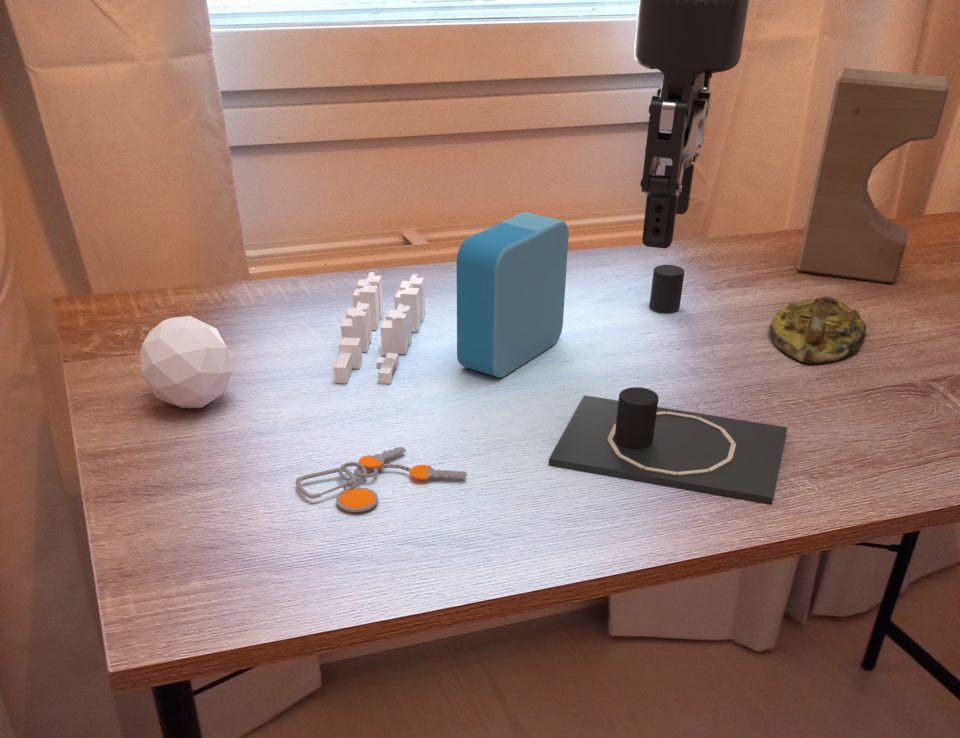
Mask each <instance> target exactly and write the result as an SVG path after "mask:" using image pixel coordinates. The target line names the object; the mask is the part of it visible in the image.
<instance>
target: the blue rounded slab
mask: <svg viewBox="0 0 960 738" xmlns="http://www.w3.org/2000/svg"><path fill="white" fill-rule="evenodd" d="M569 233H570V232H569V227H568V225H567V223H566V222H565V221H564V220H561V219H557V218H554V217H553V218H552V217H548V216H543V215H540V214H535V213H530V212H526V211H523V212H520V213H518V214H516V215H514V216H512V217H510V218H508V219H505V220H504V221H501V222H499V223H497V224H495V225H493V226H490V227H488V228H486V229H484V230H482V231H480V232H478V233H476V234H473V235H471V236H469V237H467V238H465V239H464V240H463V241H462V243H461V244H460V246H459V248H458V251H457V255H456V358H457V361H458V363H459V365H460V366H462V367H464V368H467V369H470V370H473V371H475V372H476V371H477V372H479V373H483V374H486V375H489V376H491V377H496V378H499V379H501V378H503V377H506V376H507V375H510V373H512V372H513V371H515V370H517V369H518V368H520V367H521V366H523V365H524V364H526V363H527V362H529V361H531V360H532V359H534V358H535V357H537V356H539V355H540V354H541V353H544V352H545V351H547V350H548V349H550V348H552V346H554V345H555V344H557V342H558V341H559V339H560V337H561V335H562V331H563V326H564V313H565V299H566V298H565V297H566V284H567V283H566V282H567V281H566V280H567V269H568V268H567V266H568V264H567V263H568V252H569V238H570V237H569V235H570V234H569Z"/></svg>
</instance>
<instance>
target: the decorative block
mask: <svg viewBox="0 0 960 738" xmlns="http://www.w3.org/2000/svg"><path fill="white" fill-rule="evenodd" d="M949 92H950V80H949V78H948V77H947V76H946V75H934V74H921V73H908V72H895V71H882V70H872V69H871V70H870V69H857V68H845V67H844V68H842V69H841V70H840V71H839V72H838V76H837V78H836V81H835V86H834V89H833V94H832V99H831V104H830V109H829V113H828V118H827V122H826V128H825V132H824V137H823V142H822V146H821V150H820V156H819V162H818V166H817V170H816V175H815V180H814V184H813V190H812V194H811V199H810V203H809V208H808V213H807V217H806V224H805V227H804V230H803V231H804V232H803V237H802V241H801V246H800V251H799V255H798V260H797V265H796V269H797V271H798V272H799V273H806V274H815V275H822V276H828V277H838V278H844V279H854V280H860V281H868V282H875V283H882V284H891V285H893V284H894V283H896V282H897V280H898V276H899V272H900V269H901V265H902V262H903V259H904V254H905V251H906V247H907V242H908V233H909V232H908V228H907V227H906V226H905V225H902V224H900V223H897V222H895V221H891V220H888V219H887V217H885V215H884V214H882V212H880V211H879V209H877V208H876V206H875V204H874V202H873V199H872V197H871V194H870V193H869V191H868V188H869V187H868V186H869V180H870V177H871V175H872V173H873V170H874V168H875V167H876V166H877V165H878V164H879V163H880V162H882V161H883V160H884V159H885V158H886V157H887V156H888V155H889V153H891V152H893V151H895V150H897V149H899V148H901V147H902V146H904V145H906V144H908V143H909V142H915V141H917V142H918V141H924V140H932V139H934V138H935V137H936V136H937V135H938V131H939V128H940V124H941V121H942V116H943V113H944V110H945V106H946V103H947V99H948V96H949Z"/></svg>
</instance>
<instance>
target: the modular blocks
mask: <svg viewBox="0 0 960 738" xmlns="http://www.w3.org/2000/svg"><path fill="white" fill-rule="evenodd" d="M356 284H357V285H356V288H355V289H354V292H353V294H352V303H353V304H352V306H353V307H348V308H347V310H346V312H345V317H344V318H343V319H342V322H341V324H340V331H341V339H340V342H339V343H338V347H339V353H338V356H337V358H336V360H335V363H334V365H333V377H334V384H348V381H349V378H350V376H351V374H352V370H353V369H354V370H355V369H356V370H358V369H359V370H360V368H361V366H362V363H363V357H362V356H363V355H362V353H368V351H369V348H370V347H369V345H370V344H371V342H372V339H373V338H372V331H378V329H379V326H380V343H381V344H380V345H381V347H379V348H378V353H380V350H381V356H383V357H378V359H377V361H376V368H378V369H379V370H378V372H377V375H378V384H386V385H390V384H391V383H392V381H393V374H395V370H397V369H398V367H399V366H400V365H399V364H400V359H399V356H400V355H407V354H408V351H409V347H410V346H411V344H412V333H419V329H420V328H421V323H422V322H423V321H424V318H425V317H426V299H425V298H426V295H425V277H419V276H418V274H417V273H416V274H415V273H412V275H411V276H410V278H409V281H408V280H407V281H406V280H402V281H401V283H400V285H399V287H398V290H396V293H395V295H394V299H393V300H394V309H388V312H387V314H386V315H385V318H383V315H384V298H383V279H382V275H376V272H374V271H369V273H368V275H367V277H366V278H365V279H364V278H360V279H359V280H358V282H357V283H356ZM380 320H383V321H382V323H380ZM374 340H375V342H373V343H372V345H374V344H375V343H377V337H374ZM360 393H361V391H360V390H359V391H355V392H354V395H357V394H360Z"/></svg>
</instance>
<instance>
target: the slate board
mask: <svg viewBox="0 0 960 738" xmlns="http://www.w3.org/2000/svg"><path fill="white" fill-rule="evenodd" d="M618 402H619V399H618V400H616V399H611V398H604V397H599V396H592V395H586V394H584V395H583V396H582V398H581V400H580V402H579V403H578V405H577V407H576V409H575V411H574V412H573V415H572V416H571V418H570V420H569V421H568V424H567V426H566V427H565V429H564V431H563V432H562V434H561V436H560V438H559V440H558V442H557V443H556V445H555V447H554V449H553V451H552V453H551V455H550V456H549V458H548V465H549V466H554V467H558V468H565V469H570V470H576V471H581V472H588V473H592V474H599V475H604V476H610V477H615V478H621V479H627V480H633V481H638V482H644V483H648V484H649V483H650V484H656V485H662V486H667V487H672V488H679V489H683V490H690V491H695V492H699V493H701V492H702V493H707V494H713V495H718V496H723V497H728V498H729V497H730V498H735V499H741V500H746V501H753V502H758V503H762V504H770V505H772V504H773V502H774V501H773V500H774V495H775V490H776V485H777V481H778V476H779V472H780V467H781V462H782V456H783V451H784V446H785V442H786V437H787V432H788V427H787V426H783V425H776V424H770V423H763V422H757V421H750V420H744V419H739V418H731V417H724V416H719V415H713V414H712V415H711V414H706V413H699V412H692V411H686V410H680V409H674V408H669V407H668V408H667V407H661V406H657V414H656V421H655V429H654V436H653V442H652V444H651V445H650V446H648V447H645V448H641V449H631V448H626V447H623V446H621V445H619V444H618V443H617V442H616V441H615V429H616V420H617V411H618Z"/></svg>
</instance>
